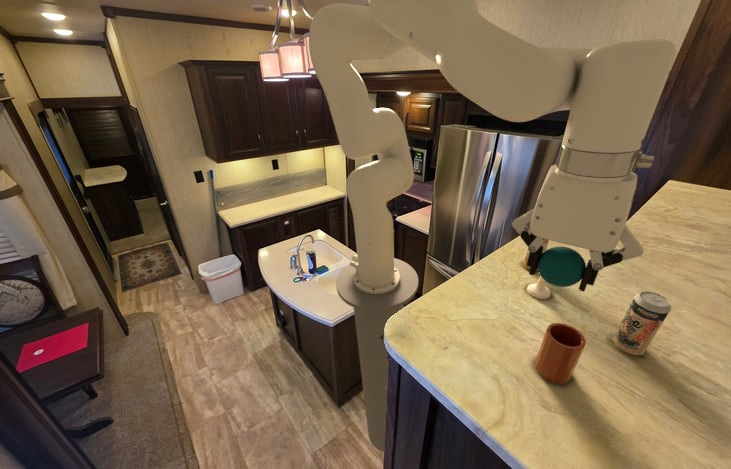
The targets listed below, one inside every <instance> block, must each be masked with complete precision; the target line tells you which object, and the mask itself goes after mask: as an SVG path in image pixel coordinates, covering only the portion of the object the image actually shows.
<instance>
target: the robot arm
mask: <svg viewBox="0 0 731 469" xmlns="http://www.w3.org/2000/svg"><path fill="white" fill-rule="evenodd" d="M308 32H309V34H308V49H309V50H308V51H309V57H310V60H311V64H312V67H313V70H314V73H315V75H316V78H317V79H318V81H319V84H320V85H321V88H322V90H323V92H324V95H325V97H326V101H327V104H328V107H329V112H330V115H331V118H332V123H333V125H334V128H335V132H336V136H337V139H338V142H339V145H340V148H341V150H342V153H343V154H344V156H346V158H348V159H349V160H354V161H355V160H356V161H357V160H362V159H366V158H369V157H374V156H376V155H377V159H378V160H374V161H371V162H369V163H366V164H363V165H361V166H358V167H357V168H355V169H354V170H352V171H351V172H350V173H349V175H348V177H347V178H346V182H345V192H346V195H347V198H348V201H349V205H350V209H351V213H352V219H353V226H354V227H353V229H354V235H355V237H354V238H355V245H356V246H355V247H356V254H353V255H352V257H351V260H350V262H349V264H350V265H351V266H353V267H355V268H356V273H355V274H354V284H355V286H356V287H357V288H358V289H359V290H361V291H363V292H365V293H368V294H384V293H387V292H390V291H392V290H394V289H395V288H396V287H397V286H398V285H399V283H400V273H399V271H398V270H397V269H396V268H395V267H394V258H395V241H394V240H395V238H394V237H395V236H394V233H395V232H394V219H393V215H392V213H391V212H390V210H389V209H388V207H387V204H388V202H389V201H391V200H393V199H394V198H396V197H399V196H401V195H402V194H405V193H407V192H408V191H409V190H410V189H411V187H412V186H413V183H414V179H415V169H414V165H413V159H412V154H411V151H410V146H409V141H408V137H407V132H406V128H405V125H404V122H403V121H402V118H400V116H399V115H398V114H397V113H396V111H394V110H392V109H390V108H386V107H379V108H374V109H373V107H372V104H371V101H370V98H369V92H368V89H367V86H366V84H365V82H364V80H363V78H362V77H361V75H360V74H359V72H358V71H357V70H356V69H355V68H354V66H353V65H352V61H369V60H370V61H371V60H382V59H385V58H389V57H391V56H393V55H395V54H396V53H399V52H401V51H403V50H405V49H406V48H408V47H410V48H412V49H413V50H415V51H416V52H418V53H420V54H421V55H423V56H424V57H426V58H427V59H429V60H430V61H432V62H433V63H435V64H436V65H437V68H438V69H439V72H440V73H441V74H442V76H443V77H444V78H445V80H446V81H447V82H448V84H449V85H450V86H452V88H453V89H454V90H456V91H457V92H458V93H459V94H461V95H463V97H465V98H467V99H468V100H470V101H471V102H473V103H474V104H476V105H477V106H478V107H480V108H482V109H483V110H485V111H487V112H488V113H490V114H492V115H493V116H495V117H497V118H499V119H502V120H504V121H508V122H512V123H524V122H525V123H526V122H530V121H533V120H535V119H538V118H540V117H542V116H545V115H548V114H552V113H555V112H560V111H569V115H568V118H567V123H566V127H565V130H564V134H563V138H562V142H561V144H560V150H559V154H558V158H557V162H556V164H553V165H551V166H550V168H549V169H548V172H547V174H546V176H545V178H544V181H543V182H542V185H541V188H540V191H539V193H538V197H537V199H536V202H535V206H534V208H532V209H531V210H528V211H527V212H526V213H523V214H521V215H520V216H518V217H516V218H515V219H514V220H513V221H512V222H511V226H512V228H513V229H514V230H515V231H516V232H517V234H519V236H520V239H521V240H522V241H523V242H524V243H525V245H526V247H527V246H528V250H529V251H530V253H529V258H528V262H527V266H529V267H530V270H529V271H528V275H530V276H534V275H535V274H536V273H537V271H538V270H537V269H538V267H537V264H538V261H539V258H540V256H541V254H542V253H543V249H544V248H543V245H542V244H543V243H544V242H545V241H546V240H549V241H551V242H555V243H560V244H563V245H568V246H571V247H576V248H580V249H584V250H588V251H589V256H590V257H589V258H590V259H588V261H587V263H586V270H585V273H584V275H583V278H582V279H581V280H580V284H579V286H578V290H579V291H580V292H583V293H584V292H585V290H586V288H587V285H589V286H592V287H593V286H594V284H595V283H596V279H597V276H598V274H599V271H602V270H604V268H606V267H610V266H614V265H617V264H619V263H622V262H623V261H627V260H631V259H636V258H638V257H641V256H643V254H644V247H643V245H642V244H641V243H640V241H639V240H638V239H637V238H636V236H635V235H634V234H633V233H632V231H631V230H630V229H629V227H628V226H627V225H626V224H627V221H628V218H629V215H630V212H631V209H632V205H633V202H634V198H635V194H636V190H637V183H638V174H637V173H635V172H633V171H636V170H637V169H642V168H645V169H651V167H652V166H653V163H654V160H655V155H648V154H647V153H643V151H641V150H640V149H641V147H642V144H643V142H644V140H645V137H646V135H647V132H648V129H649V127H650V125H651V121H652V119H653V116H654V114H655V111H656V108H657V106H658V103H659V100H660V97H661V95H662V93H663V90H664V88H665V85H666V83H667V80H668V77H669V75H670V72H671V69H672V67H673V65H674V61H675V57H676V56H677V46H676V44H675V43H674V42H673V41H672V40H669V39H665V38H663V39H662V38H654V39H653V38H652V39H640V40H630V41H629V40H628V41H621V42H614V43H605V44H601V45H598V46H596V47H594V48H571V47H551V46H549V47H548V46H537V45H535V44H533V43H530V42H528V41H526V40H524V39H522V38H521V37H518V36H517V35H515V34H512V33H511V32H509V31H507V30H505V29H503V28H501V27H500V26H498V25H496V24H495V23H493V22H491V21H490V20H488V19H487V18H486V17H484V16H483V15H482V14H481V13H480V12H479V3H478V1H477V0H368V5H362V4H355V3H346V2H344V3H343V2H341V3H340V2H337V3H336V2H335V3H330V4H327V5H324V6H323V7H321V8H319V9H318V11H316V12H315V14H314V16H313V18H312V20H311V22H310V27H309V31H308ZM528 223H529V227H528V226H527V224H528ZM619 242H621V244H622V246H623V247H621V248H619V249H617V246H618V244H619ZM354 261H355V262H354ZM356 262H357V263H356Z"/></svg>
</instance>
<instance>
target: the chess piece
mask: <svg viewBox="0 0 731 469" xmlns="http://www.w3.org/2000/svg"><path fill="white" fill-rule="evenodd" d="M526 291H527V293H528V294H529V295H530V296H532V297H534V298H535V299H536V298H537V299H539V300H540V299H541V300H546V299H549V298H550V297H551V290H550V289H549V287H547V286H546V281H545V280H544V279H543V278H542V277H541V275H540V276H539V278H538V281H537V282H536V283H530V284H529V285H527V288H526Z"/></svg>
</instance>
